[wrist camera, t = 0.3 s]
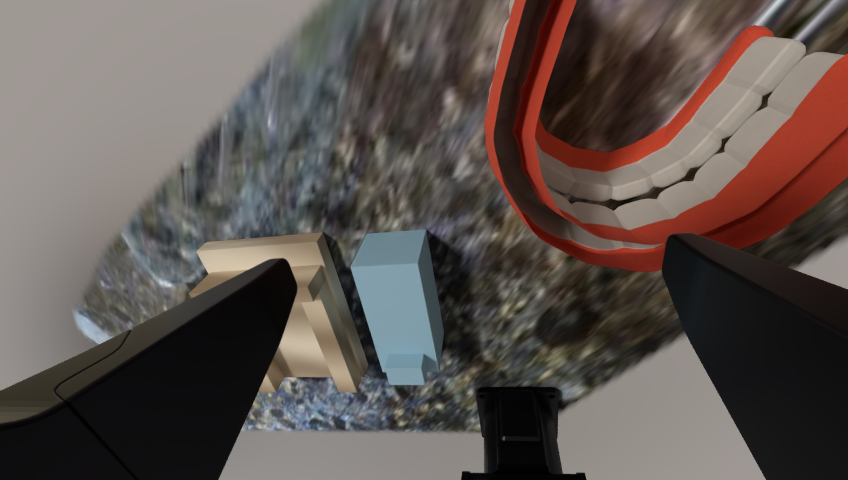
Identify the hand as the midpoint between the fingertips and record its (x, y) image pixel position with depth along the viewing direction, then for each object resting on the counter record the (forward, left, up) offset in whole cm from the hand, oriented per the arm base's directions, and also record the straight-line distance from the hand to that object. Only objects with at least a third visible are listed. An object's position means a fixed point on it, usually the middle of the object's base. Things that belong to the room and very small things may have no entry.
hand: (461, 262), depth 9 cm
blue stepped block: (-11, +6, -14) cm, 19 cm away
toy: (0, -6, -14) cm, 15 cm away
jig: (-13, +15, -14) cm, 24 cm away
